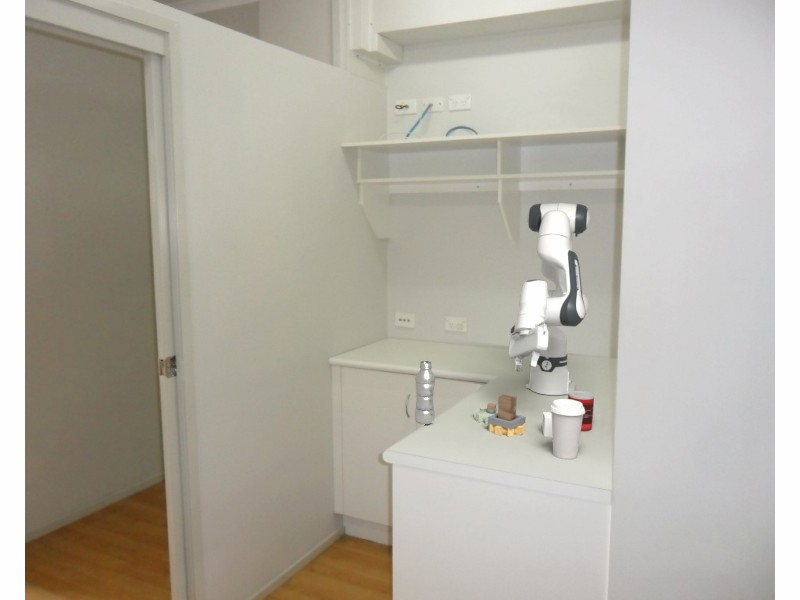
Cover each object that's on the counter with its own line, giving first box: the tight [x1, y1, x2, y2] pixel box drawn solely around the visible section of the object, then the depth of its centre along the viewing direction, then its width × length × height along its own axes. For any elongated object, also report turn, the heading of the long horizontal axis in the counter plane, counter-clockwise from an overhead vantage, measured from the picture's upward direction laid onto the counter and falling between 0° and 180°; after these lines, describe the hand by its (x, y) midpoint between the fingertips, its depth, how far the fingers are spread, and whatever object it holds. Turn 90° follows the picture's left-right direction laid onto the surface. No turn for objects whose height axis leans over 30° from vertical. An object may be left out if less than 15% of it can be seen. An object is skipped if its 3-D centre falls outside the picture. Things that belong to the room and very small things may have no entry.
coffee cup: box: [549, 398, 585, 460], centre depth 176 cm, size 10×10×15 cm
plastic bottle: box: [414, 360, 436, 425], centre depth 201 cm, size 6×7×20 cm
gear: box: [473, 402, 498, 425], centre depth 207 cm, size 11×11×5 cm
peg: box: [497, 393, 517, 421], centre depth 196 cm, size 4×4×8 cm
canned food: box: [567, 390, 595, 432], centre depth 200 cm, size 8×8×11 cm
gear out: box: [487, 413, 527, 438], centre depth 197 cm, size 11×11×4 cm
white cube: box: [541, 411, 553, 438], centre depth 194 cm, size 6×6×6 cm
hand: (525, 368), depth 199 cm, fingers open, 8 cm apart
